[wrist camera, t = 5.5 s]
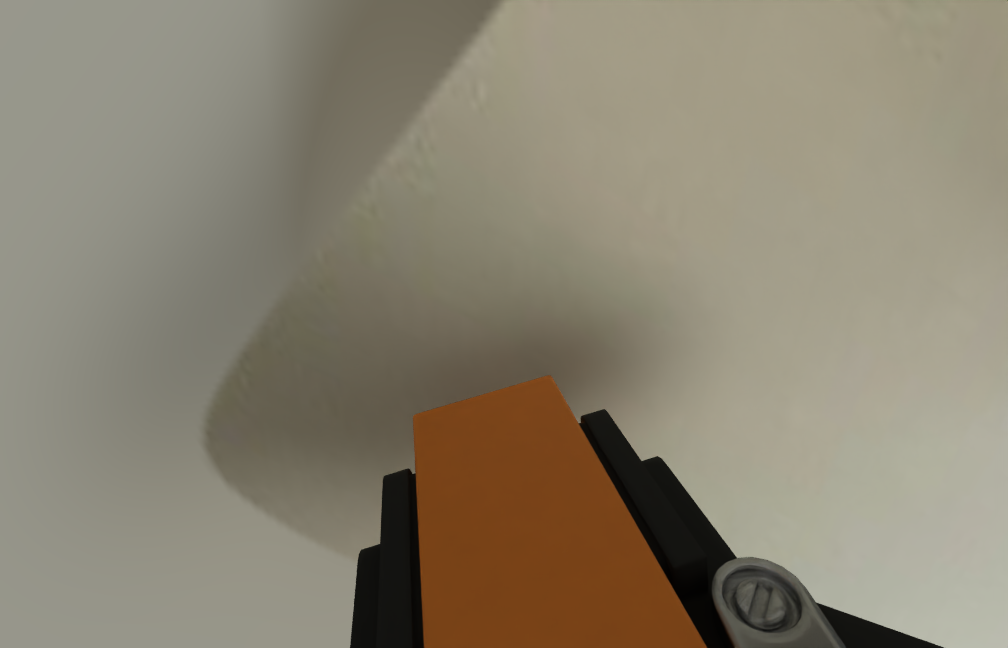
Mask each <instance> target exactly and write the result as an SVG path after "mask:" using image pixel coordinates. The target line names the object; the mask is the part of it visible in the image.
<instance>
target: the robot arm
mask: <svg viewBox="0 0 1008 648" xmlns="http://www.w3.org/2000/svg"><path fill="white" fill-rule="evenodd" d="M579 425H580V427H581V429H582V430H583V432H584V434H585V436H586V437H587V439H588V441H589V443H590V444H591V446H592V448H593V450H594V451H595V453H596V455H597V457H598V458H599V460H600V462H601V463H602V465H603V467H604V469H605V470H606V472H607V474H608V476H609V477H610V479H611V481H612V483H613V484H614V486H615V488H616V490H617V491H618V493H619V495H620V497H621V498H622V500H623V502H624V504H625V505H626V507H627V509H628V511H629V512H630V514H631V516H632V518H633V519H634V521H635V523H636V525H637V526H638V528H639V530H640V532H641V533H642V535H643V537H644V539H645V540H646V542H647V544H648V545H649V547H650V549H651V551H652V552H653V554H654V556H655V558H656V559H657V561H658V563H659V565H660V566H661V568H662V570H663V572H664V573H665V575H666V577H667V579H668V580H669V582H670V584H671V586H672V587H673V589H674V591H675V593H676V594H677V596H678V598H679V600H680V601H681V603H682V605H683V607H684V608H685V610H686V612H687V614H688V615H689V617H690V619H691V621H692V622H693V624H694V626H695V627H696V629H697V631H698V633H699V634H700V636H701V638H702V640H703V641H704V643H705V645H706V647H707V648H944V647H941V646H938V645H935V644H932V643H929V642H927V641H924V640H921V639H918V638H915V637H912V636H910V635H907V634H904V633H901V632H898V631H895V630H893V629H890V628H887V627H884V626H881V625H878V624H876V623H873V622H870V621H867V620H864V619H861V618H859V617H856V616H853V615H850V614H847V613H844V612H841V611H839V610H836V609H833V608H830V607H827V606H824V605H822V604H819V603H816V602H815V601H814V599H813V598H812V596H811V595H810V593H809V592H808V590H807V589H806V587H805V586H804V585H803V584H802V583H801V582H800V581H799V579H798V578H797V577H796V576H795V575H793V574H792V573H791V572H789V571H788V570H786V569H785V568H784V567H782V566H780V565H778V564H775V563H773V562H771V561H768V560H765V559H760V558H754V557H745V558H737V557H736V556H735V555H734V553H733V552H732V551H731V549H730V548H729V547H728V545H727V544H726V543H725V541H724V540H723V539H722V538H721V536H720V535H719V534H718V532H717V531H716V530H715V528H714V527H713V526H712V524H711V523H710V522H709V520H708V519H707V518H706V516H705V515H704V514H703V512H702V511H701V510H700V508H699V507H698V506H697V504H696V503H695V502H694V500H693V499H692V498H691V496H690V495H689V494H688V492H687V491H686V490H685V488H684V487H683V486H682V484H681V483H680V482H679V480H678V479H677V478H676V476H675V475H674V474H673V472H672V471H671V470H670V468H669V467H668V466H667V464H666V463H665V462H664V461H663V460H662V459H661V458H660V457H658V456H657V457H653V458H650V459H647V460H644V461H641V460H640V458H639V457H638V456H637V454H636V453H635V451H634V450H633V448H632V447H631V445H630V444H629V442H628V441H627V440H626V438H625V437H624V435H623V434H622V432H621V431H620V429H619V428H618V427H617V425H616V424H615V422H614V421H613V419H612V418H611V416H610V415H609V413H608V412H607V411H606V410H605V409H603V410H600V411H596V412H593V413H590V414H586V415H583V416H581V423H579ZM350 648H424V638H423V617H422V597H421V576H420V555H419V534H418V513H417V493H416V473H415V474H412V472H411V470H410V469H405V470H402V471H399V472H395V473H392V474H389V475H385V476H384V477H383V489H382V514H381V540H380V544H378V545H375V546H372V547H369V548H366V549H362V550H361V551H360V553H359V557H358V565H357V577H356V589H355V599H354V612H353V622H352V634H351V645H350Z"/></svg>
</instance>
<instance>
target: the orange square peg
mask: <svg viewBox="0 0 1008 648" xmlns="http://www.w3.org/2000/svg"><path fill="white" fill-rule="evenodd" d="M413 430H414V451H415V472H416V493H417V513H418V534H419V555H420V576H421V597H422V617H423V638H424V648H707V647H706V645H705V643H704V641H703V640H702V638H701V636H700V634H699V633H698V631H697V629H696V627H695V626H694V624H693V622H692V621H691V619H690V617H689V615H688V614H687V612H686V610H685V608H684V607H683V605H682V603H681V601H680V600H679V598H678V596H677V594H676V593H675V591H674V589H673V587H672V586H671V584H670V582H669V580H668V579H667V577H666V575H665V573H664V572H663V570H662V568H661V566H660V565H659V563H658V561H657V559H656V558H655V556H654V554H653V552H652V551H651V549H650V547H649V545H648V544H647V542H646V540H645V539H644V537H643V535H642V533H641V532H640V530H639V528H638V526H637V525H636V523H635V521H634V519H633V518H632V516H631V514H630V512H629V511H628V509H627V507H626V505H625V504H624V502H623V500H622V498H621V497H620V495H619V493H618V491H617V490H616V488H615V486H614V484H613V483H612V481H611V479H610V477H609V476H608V474H607V472H606V470H605V469H604V467H603V465H602V463H601V462H600V460H599V458H598V457H597V455H596V453H595V451H594V450H593V448H592V446H591V444H590V443H589V441H588V439H587V437H586V436H585V434H584V432H583V430H582V429H581V427H580V425H579V423H578V422H577V420H576V418H575V416H574V415H573V413H572V411H571V409H570V408H569V406H568V404H567V402H566V401H565V399H564V397H563V395H562V394H561V392H560V390H559V388H558V387H557V385H556V383H555V381H554V380H553V378H552V377H551V376H550V375H547V376H544V377H541V378H537V379H534V380H530V381H527V382H524V383H520V384H517V385H513V386H510V387H506V388H503V389H500V390H496V391H493V392H489V393H486V394H483V395H479V396H476V397H472V398H469V399H466V400H462V401H459V402H455V403H452V404H449V405H445V406H442V407H438V408H435V409H432V410H428V411H425V412H421V413H418V414H415V415H414V416H413Z"/></svg>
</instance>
